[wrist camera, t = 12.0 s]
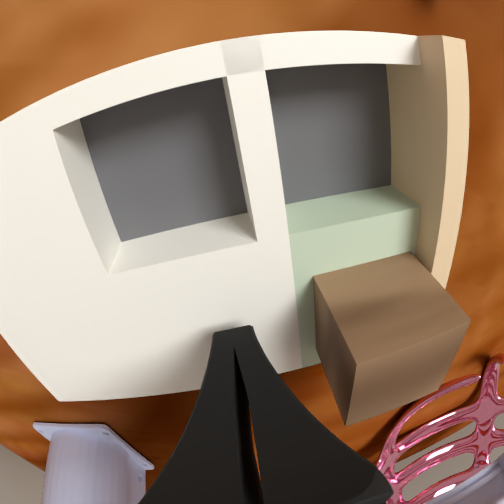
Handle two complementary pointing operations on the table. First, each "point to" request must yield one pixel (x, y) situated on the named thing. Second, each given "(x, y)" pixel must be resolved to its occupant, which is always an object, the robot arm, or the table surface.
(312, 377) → the table surface
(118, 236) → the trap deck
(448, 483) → the spiral basket
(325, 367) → the walnut block
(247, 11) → the table surface
